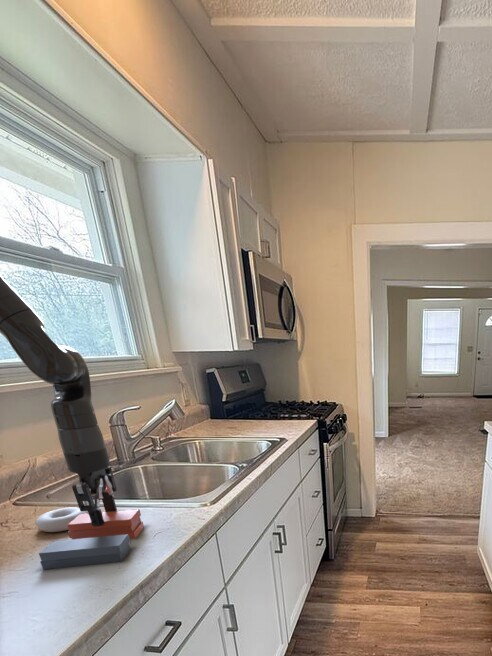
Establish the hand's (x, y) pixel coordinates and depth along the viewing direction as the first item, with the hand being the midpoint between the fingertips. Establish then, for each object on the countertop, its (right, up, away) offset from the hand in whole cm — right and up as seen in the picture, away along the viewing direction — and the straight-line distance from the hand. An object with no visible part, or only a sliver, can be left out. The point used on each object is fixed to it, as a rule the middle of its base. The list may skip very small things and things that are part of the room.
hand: (105, 518), depth 91 cm
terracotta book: (0, -1, 0) cm, 1 cm away
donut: (-15, -2, +7) cm, 16 cm away
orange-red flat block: (0, -4, +2) cm, 4 cm away
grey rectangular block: (+3, -8, -9) cm, 12 cm away
